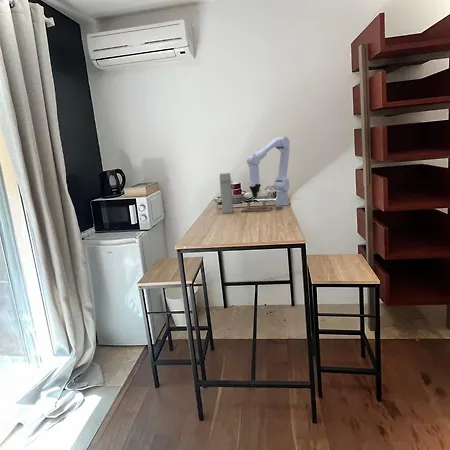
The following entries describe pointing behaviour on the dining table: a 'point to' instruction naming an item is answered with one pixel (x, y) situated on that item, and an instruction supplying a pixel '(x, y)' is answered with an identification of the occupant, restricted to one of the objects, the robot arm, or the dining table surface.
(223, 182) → the water bottle
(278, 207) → the block
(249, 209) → the peg stand
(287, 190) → the robot arm
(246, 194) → the shelf board
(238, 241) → the dining table surface
